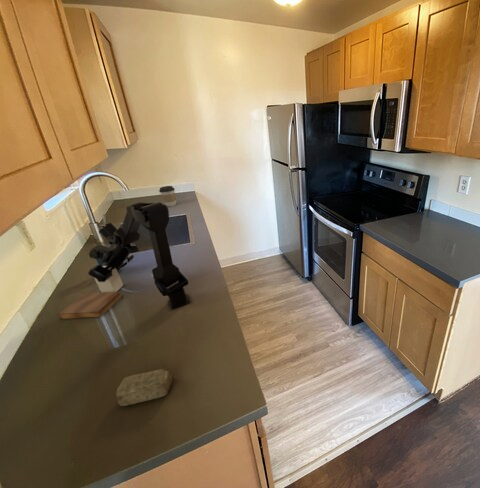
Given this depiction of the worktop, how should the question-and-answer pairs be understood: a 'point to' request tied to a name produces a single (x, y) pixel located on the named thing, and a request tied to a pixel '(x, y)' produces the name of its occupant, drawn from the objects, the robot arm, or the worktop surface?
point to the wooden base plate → (90, 305)
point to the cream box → (110, 283)
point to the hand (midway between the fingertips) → (103, 277)
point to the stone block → (144, 387)
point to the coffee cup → (168, 195)
